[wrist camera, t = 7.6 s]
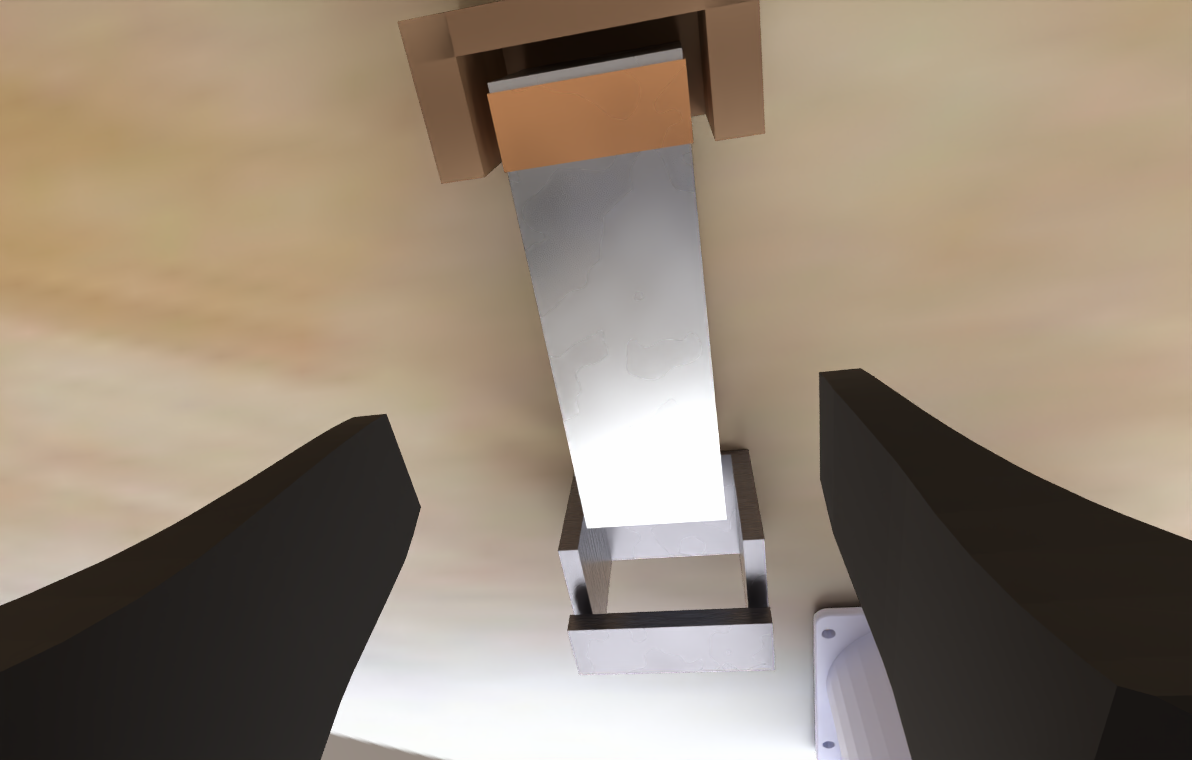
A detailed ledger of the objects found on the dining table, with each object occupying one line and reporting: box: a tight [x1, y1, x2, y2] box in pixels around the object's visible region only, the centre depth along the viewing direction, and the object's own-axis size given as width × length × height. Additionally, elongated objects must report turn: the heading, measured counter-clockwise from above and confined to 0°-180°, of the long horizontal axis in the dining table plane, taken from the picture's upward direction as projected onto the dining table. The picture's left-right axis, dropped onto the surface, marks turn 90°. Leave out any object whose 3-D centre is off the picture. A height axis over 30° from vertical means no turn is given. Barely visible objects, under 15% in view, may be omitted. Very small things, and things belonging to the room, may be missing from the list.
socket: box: [398, 0, 765, 184], centre depth 15 cm, size 3×7×4 cm, turn 99°
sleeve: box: [558, 450, 775, 675], centre depth 22 cm, size 4×6×5 cm
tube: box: [487, 41, 726, 528], centre depth 18 cm, size 12×4×4 cm, turn 10°
